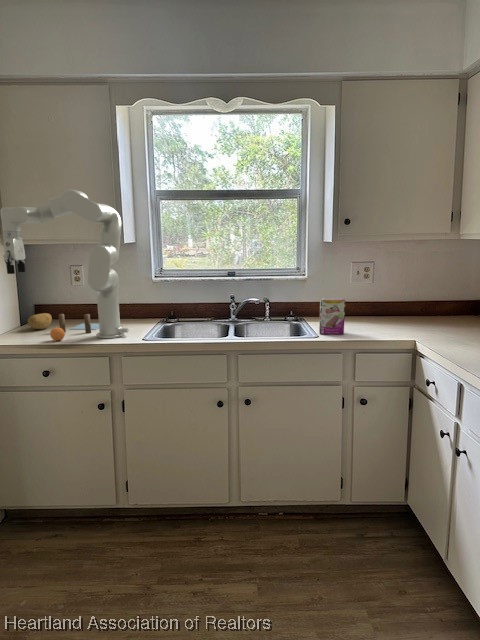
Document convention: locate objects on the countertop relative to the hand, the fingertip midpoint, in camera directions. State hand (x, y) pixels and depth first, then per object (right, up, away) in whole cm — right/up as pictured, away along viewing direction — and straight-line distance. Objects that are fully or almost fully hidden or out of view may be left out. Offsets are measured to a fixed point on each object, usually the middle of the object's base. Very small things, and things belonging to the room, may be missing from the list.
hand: (16, 272), depth 203 cm
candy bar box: (+147, -29, +1) cm, 150 cm away
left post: (+17, -28, +10) cm, 35 cm away
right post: (+30, -28, +9) cm, 42 cm away
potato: (+3, -27, +19) cm, 33 cm away
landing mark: (+26, -25, +23) cm, 43 cm away
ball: (+22, -28, -7) cm, 36 cm away
